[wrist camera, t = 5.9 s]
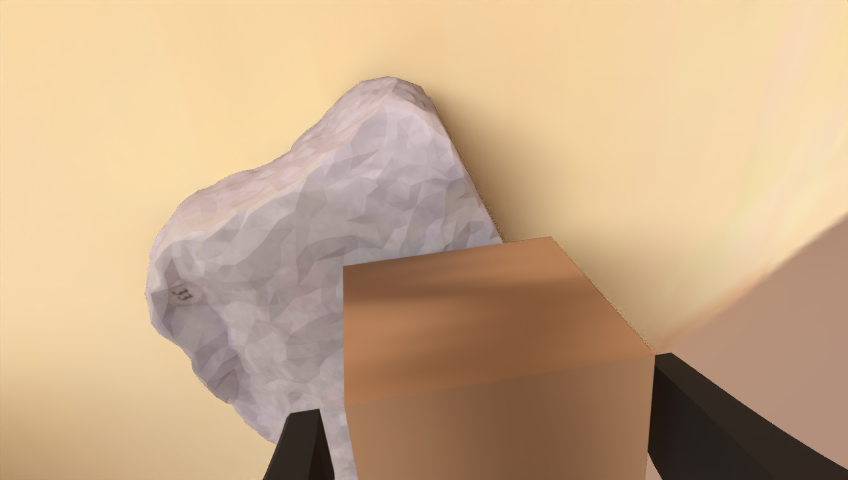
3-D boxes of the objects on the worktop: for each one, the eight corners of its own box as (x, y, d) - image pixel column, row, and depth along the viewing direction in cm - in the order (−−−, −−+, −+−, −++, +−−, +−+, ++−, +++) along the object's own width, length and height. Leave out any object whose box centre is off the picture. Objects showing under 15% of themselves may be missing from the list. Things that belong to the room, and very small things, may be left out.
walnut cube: (370, 433, 15) (384, 618, 11) (343, 266, 13) (344, 405, 9) (551, 402, 16) (637, 567, 11) (550, 236, 14) (655, 354, 9)
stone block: (347, 417, 23) (583, 341, 20) (323, 532, 19) (612, 457, 16) (146, 187, 18) (426, 36, 15) (54, 279, 14) (412, 99, 11)
